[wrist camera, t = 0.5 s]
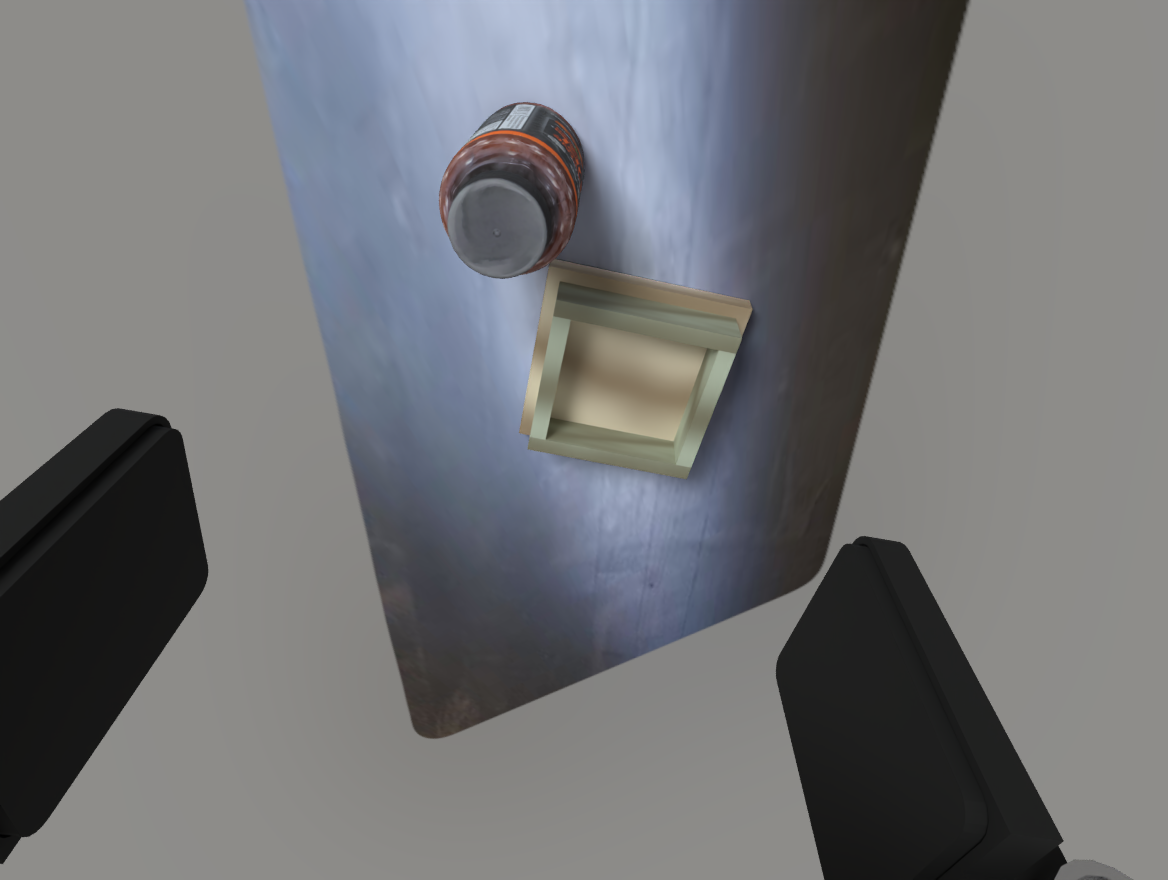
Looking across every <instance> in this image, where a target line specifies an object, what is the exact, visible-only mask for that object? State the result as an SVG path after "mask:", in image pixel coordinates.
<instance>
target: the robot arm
mask: <svg viewBox="0 0 1168 880" xmlns="http://www.w3.org/2000/svg"><path fill="white" fill-rule="evenodd" d="M207 577H208V564H207V559H206V554H205V549H204V543H203V539H202V533H201V529H200V523H199V518H198V513H197V509H196V503H195V498H194V493H193V488H192V483H191V478H190V473H189V468H188V463H187V458H186V453H185V448H184V443H183V438H182V435H181V433H180V432H179V431H178V430H176V429H172V428H171V426H170V423H169V421H168V420H167V419H166V418H165V417H163V416H160V415H155V414H149V413H142V412H137V411H131V410H125V409H119V408H117V409H112V410H110V411H108V412H107V413H105V414H104V415H103V416H101V417H100V418H99V419H98V420H96V421H95V422H94V423H93V424H92V425H90V426H89V427H88V428H87V429H86V430H84V431H83V432H82V433H81V434H80V435H79V436H77V437H76V438H75V439H74V440H72V441H71V442H70V443H69V444H68V445H66V446H65V447H64V448H63V449H62V450H60V452H58V453H57V454H56V455H55V456H53V457H52V458H51V459H50V460H49V461H47V462H46V463H45V464H44V465H43V466H41V467H40V468H39V469H38V470H37V471H35V472H34V473H33V474H32V475H31V476H29V477H28V478H27V479H26V480H25V481H23V482H22V483H21V484H20V485H19V486H17V487H16V488H15V489H14V490H13V491H11V492H10V493H9V494H8V495H7V496H5V498H3V499H2V500H1V501H0V864H3V863H4V862H5V860H6V859H7V857H8V856H9V854H10V853H11V851H12V850H13V849H14V847H15V846H16V844H17V843H18V841H19V840H20V838H21V837H28V836H30V835H32V834H34V833H36V832H37V831H38V830H39V829H40V828H41V827H42V826H43V825H44V823H45V822H46V821H47V819H48V818H49V817H50V815H51V814H52V812H53V811H54V809H55V808H56V807H57V805H58V804H59V802H60V801H61V799H62V798H63V796H64V795H65V793H66V792H67V790H68V789H69V787H70V786H71V784H72V783H73V782H74V780H75V778H76V777H77V776H78V774H79V773H80V771H81V770H82V768H83V767H84V765H85V764H86V762H87V761H88V759H89V758H90V756H91V755H92V753H93V752H94V750H95V749H96V748H97V746H98V745H99V743H100V742H101V740H102V739H103V737H104V736H105V734H106V733H107V731H108V730H109V729H110V727H111V725H112V724H113V723H114V721H115V720H116V718H117V717H118V715H119V714H120V712H121V711H122V709H123V708H124V706H125V705H126V704H127V702H128V701H129V699H130V698H131V696H132V695H133V693H134V692H135V690H136V689H137V687H138V686H139V684H140V683H141V681H142V680H143V679H144V677H145V676H146V674H147V673H148V671H149V670H150V668H151V667H152V665H153V664H154V662H155V661H156V659H157V658H158V656H159V655H160V654H161V652H162V651H163V649H164V647H165V646H166V645H167V643H168V642H169V640H170V639H171V637H172V636H173V634H174V633H175V631H176V630H177V628H178V627H179V626H180V624H181V623H182V621H183V620H184V618H185V617H186V615H187V614H188V612H189V611H190V609H191V608H192V606H193V605H194V604H195V602H196V600H197V599H198V598H199V596H200V595H201V593H202V591H203V589H204V587H205V584H206V581H207ZM776 679H777V684H778V688H779V692H780V696H781V701H782V705H783V709H784V713H785V717H786V721H787V726H788V730H789V734H790V738H791V742H792V746H793V751H794V755H795V759H796V763H797V767H798V771H799V776H800V780H801V784H802V788H803V792H804V796H805V801H806V805H807V809H808V813H809V817H810V821H811V826H812V830H813V834H814V838H815V842H816V847H817V850H818V855H819V859H820V863H821V867H822V872H823V876H824V880H1133V879H1131V878H1130V877H1128V876H1126V875H1125V874H1123V873H1121V872H1120V871H1118V870H1116V869H1115V868H1113V867H1110V866H1107V865H1104V864H1101V863H1098V862H1096V861H1093V860H1073V861H1071V862H1069V863H1067V861H1066V860H1065V857H1064V856H1063V854H1062V852H1061V850H1060V848H1059V846H1058V845H1059V844H1061V843H1062V842H1063V839H1062V837H1061V835H1060V833H1059V832H1058V830H1057V828H1056V826H1055V824H1054V822H1053V820H1052V818H1051V816H1050V814H1049V813H1048V811H1047V809H1046V807H1045V805H1044V803H1043V801H1042V800H1041V798H1040V796H1039V794H1038V792H1037V790H1036V788H1035V786H1034V784H1033V783H1032V781H1031V779H1030V777H1029V775H1028V773H1027V771H1026V769H1025V767H1024V766H1023V764H1022V762H1021V760H1020V758H1019V756H1018V754H1017V752H1016V751H1015V749H1014V747H1013V745H1012V743H1011V741H1010V739H1009V737H1008V735H1007V734H1006V732H1005V730H1004V728H1003V726H1002V724H1001V722H1000V721H999V719H998V717H997V715H996V713H995V711H994V709H993V707H992V705H991V704H990V702H989V700H988V698H987V696H986V694H985V692H984V691H983V688H982V687H981V685H980V683H979V681H978V679H977V677H976V675H975V673H974V672H973V670H972V668H971V666H970V664H969V662H968V660H967V658H966V657H965V655H964V653H963V651H962V649H961V647H960V645H959V643H958V641H957V640H956V638H955V636H954V634H953V632H952V630H951V628H950V626H949V625H948V623H947V621H946V619H945V618H944V615H943V613H942V612H941V610H940V608H939V606H938V604H937V602H936V600H935V598H934V596H933V594H932V593H931V591H930V589H929V587H928V585H927V583H926V581H925V579H924V578H923V576H922V574H921V572H920V570H919V568H918V566H917V564H916V562H915V561H914V559H913V557H912V555H911V553H910V551H909V550H908V548H907V547H906V546H905V545H904V544H902V543H901V542H896V541H890V540H884V539H878V538H872V537H866V536H861V537H859V538H857V539H856V540H855V541H854V542H853V544H845V545H844V546H843V547H842V548H841V549H840V551H839V553H838V555H837V556H836V558H835V559H834V561H833V563H832V565H831V567H830V568H829V570H828V572H827V573H826V575H825V577H824V579H823V580H822V582H821V584H820V585H819V587H818V589H817V591H816V592H815V594H814V596H813V598H812V600H811V601H810V603H809V604H808V606H807V608H806V610H805V612H804V613H803V615H802V617H801V619H800V620H799V622H798V624H797V625H796V627H795V629H794V631H793V632H792V634H791V636H790V637H789V639H788V641H787V643H786V644H785V646H784V648H783V650H782V651H781V653H780V655H779V657H778V660H777V665H776Z"/></svg>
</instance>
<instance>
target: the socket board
mask: <svg viewBox="0 0 1168 880" xmlns="http://www.w3.org/2000/svg"><path fill="white" fill-rule="evenodd" d="M752 310H753V309H752V307H751V304H750V301H749V300H744V299H739V298H735V297H730V296H725V295H721V294H716V293H711V292H707V291H702V290H697V289H693V288H688V287H683V286H679V285H674V284H669V283H665V282H660V281H655V280H651V279H646V278H641V277H637V276H632V275H627V274H623V273H618V272H613V271H609V270H604V269H599V268H595V267H590V266H585V265H581V264H576V263H571V262H567V261H562V260H557V259H554V260H553V261H552V262H551V263H550V264H549V269H548V275H547V280H546V286H545V292H544V297H543V303H542V308H541V314H540V319H539V325H538V331H537V336H536V342H535V347H534V353H533V358H532V364H531V369H530V375H529V381H528V386H527V392H526V397H525V403H524V408H523V414H522V420H521V425H520V431H519V433H521V434H526V435H530V438H529V444H528V449H529V450H534V451H540V452H545V453H550V454H555V455H561V456H566V457H571V458H577V459H582V460H587V461H593V462H598V463H603V464H608V465H614V466H619V467H624V468H630V469H635V470H640V471H646V472H651V473H656V474H661V475H667V476H672V477H677V478H683V479H687V477H688V474H689V472H690V469H691V467H692V464H693V462H694V459H695V457H696V454H697V451H698V449H699V446H700V444H701V441H702V439H703V436H704V434H705V431H706V429H707V426H708V424H709V421H710V419H711V416H712V414H713V411H714V408H715V406H716V403H717V401H718V398H719V396H720V393H721V391H722V388H723V386H724V383H725V381H726V378H727V376H728V373H729V371H730V368H731V365H732V363H733V360H734V358H735V355H736V353H737V350H738V348H739V345H740V343H741V340H742V335H743V332H744V330H745V327H746V325H747V322H748V320H749V317H750V315H751V312H752Z"/></svg>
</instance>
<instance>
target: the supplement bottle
mask: <svg viewBox="0 0 1168 880" xmlns="http://www.w3.org/2000/svg"><path fill="white" fill-rule="evenodd" d="M583 179H584V157H583V150H582V147H581V143H580V141H579V138H578V137H577V135H576V133H575V131H574V130H573V128H572V127H571V125H570V124H569V123H568V122H567V121H566V120H565V119H564V118H563V117H562V116H561V115H560V114H558V113H557V112H555V111H554V110H553V109H551V108H549V107H546V106H544V105H541V104H536V103H529V102H523V103H514V104H511V105H507V106H505V107H503V108H501V109H500V110H498V111H496V112H495V113H494V114H492V115H491V116H490V117H489V118H488V119H487V120H486V121H485V122H484V123H483V124H482V125H481V126H480V128H479V129H478V130H477V131H476V132H475V133H474V134H473V136H472V137H471V138H470V139H469V140H468V141H467V143H466V144H465V145H464V146H463V147H462V148H461V149H460V150H459V152H458V153H457V154H456V155H455V156H454V158H453V159H452V161H451V162H450V164H449V165H448V167H447V169H446V171H445V174H444V176H443V179H442V182H441V187H440V193H439V207H440V214H441V219H442V222H443V225H444V228H445V230H446V232H447V234H448V236H449V239H450V241H451V244H452V247H453V249H454V251H455V252H456V253H457V255H458V256H459V258H460V259H461V260H462V261H463V262H464V263H465V264H466V265H467V266H468V267H470V268H471V269H473V270H474V271H476V272H478V273H480V274H482V275H484V276H488V277H492V278H500V279H504V278H512V277H515V276H518V275H523V274H528V273H531V272H534V271H537V270H539V269H541V268H543V267H545V266H546V265H548V264H549V263H551V262H552V261H553V260H554V259H555V258H556V257H557V256H558V255H559V254H560V253H561V252H562V250H563V249H564V248H565V246H566V245H567V243H568V242H569V240H570V237H571V235H572V232H573V229H574V225H575V221H576V217H577V212H578V206H579V200H580V194H581V190H582V185H583Z"/></svg>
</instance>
